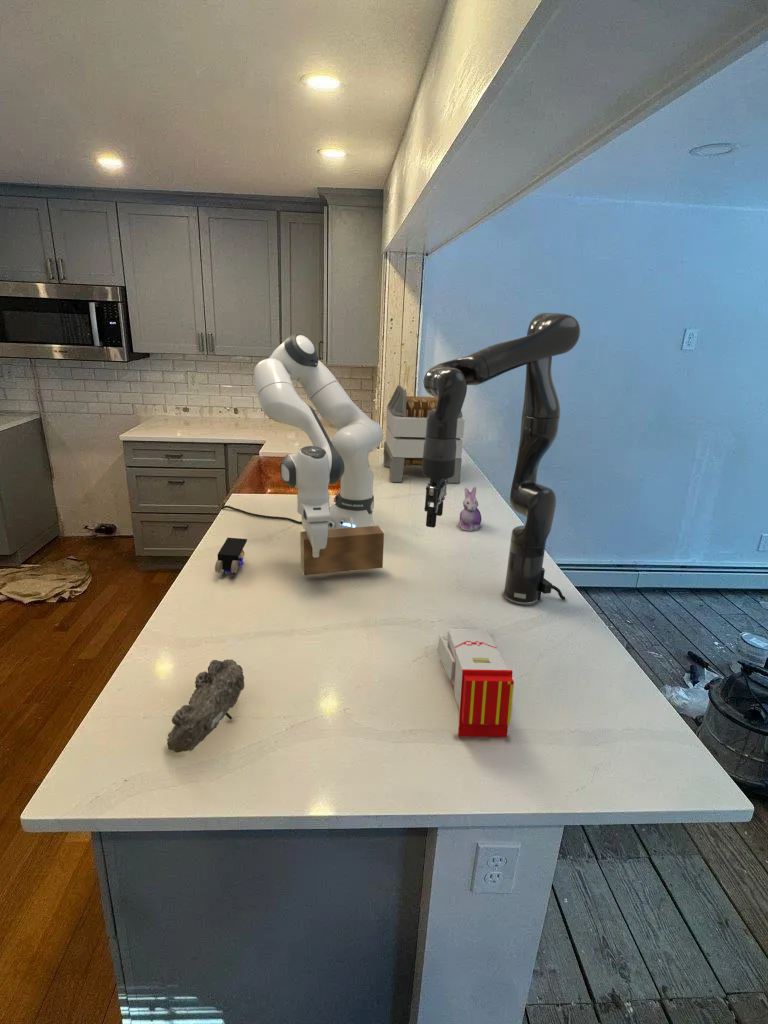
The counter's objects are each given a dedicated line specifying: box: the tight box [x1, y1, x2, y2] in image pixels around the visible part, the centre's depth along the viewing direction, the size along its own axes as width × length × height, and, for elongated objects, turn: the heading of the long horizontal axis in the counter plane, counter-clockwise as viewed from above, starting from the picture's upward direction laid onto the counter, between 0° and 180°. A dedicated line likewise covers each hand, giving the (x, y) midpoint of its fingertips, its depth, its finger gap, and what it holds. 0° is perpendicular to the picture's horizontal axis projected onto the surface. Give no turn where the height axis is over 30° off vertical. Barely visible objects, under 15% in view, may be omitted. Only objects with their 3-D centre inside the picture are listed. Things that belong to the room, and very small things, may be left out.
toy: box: [437, 628, 515, 738], centre depth 117 cm, size 12×13×30 cm
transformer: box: [383, 384, 465, 484], centre depth 268 cm, size 34×33×41 cm
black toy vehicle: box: [214, 537, 248, 578], centre depth 166 cm, size 7×8×15 cm
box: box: [299, 525, 385, 577], centre depth 165 cm, size 23×6×11 cm, turn 107°
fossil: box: [166, 658, 245, 754], centre depth 106 cm, size 22×10×15 cm
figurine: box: [458, 486, 482, 532], centre depth 206 cm, size 9×10×15 cm
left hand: (313, 551), depth 162 cm, fingers closed on box, 6 cm apart
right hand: (434, 520), depth 136 cm, fingers open, 8 cm apart
